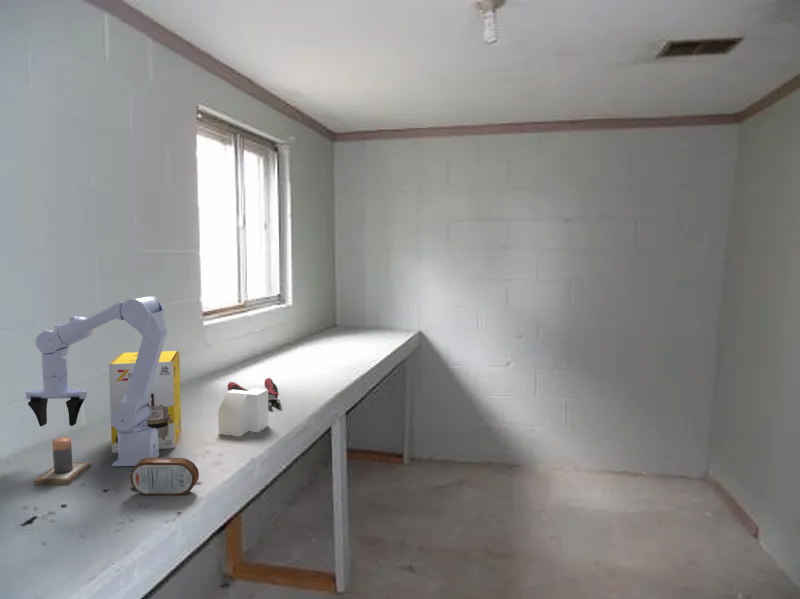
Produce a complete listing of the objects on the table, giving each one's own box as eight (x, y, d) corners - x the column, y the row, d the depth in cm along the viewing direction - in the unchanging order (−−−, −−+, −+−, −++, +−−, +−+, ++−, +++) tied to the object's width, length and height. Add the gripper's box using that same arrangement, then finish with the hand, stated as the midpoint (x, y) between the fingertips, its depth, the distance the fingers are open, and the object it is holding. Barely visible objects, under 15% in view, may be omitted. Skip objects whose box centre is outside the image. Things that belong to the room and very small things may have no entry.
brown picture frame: (91, 465, 144) (91, 461, 144) (69, 484, 133) (68, 479, 133) (59, 466, 143) (59, 462, 143) (34, 484, 132) (34, 480, 132)
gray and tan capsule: (75, 469, 138) (74, 439, 137) (58, 475, 135) (56, 444, 134) (68, 466, 140) (66, 435, 140) (51, 471, 137) (49, 440, 136)
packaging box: (112, 453, 153) (108, 364, 150) (124, 433, 168) (121, 352, 166) (175, 448, 157) (172, 361, 155) (181, 429, 173) (179, 350, 170)
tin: (199, 490, 130) (198, 456, 129) (195, 496, 127) (194, 461, 126) (135, 490, 130) (133, 456, 129) (128, 496, 127) (127, 461, 126)
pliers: (300, 409, 198) (300, 400, 198) (250, 416, 190) (250, 406, 189) (271, 384, 231) (271, 376, 230) (227, 389, 222) (227, 381, 222)
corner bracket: (268, 426, 177) (268, 389, 176) (249, 438, 166) (249, 399, 165) (239, 423, 180) (238, 386, 178) (218, 434, 169) (217, 395, 168)
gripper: (91, 371, 150) (93, 419, 151) (35, 371, 149) (38, 420, 150) (78, 377, 143) (80, 428, 144) (19, 377, 142) (22, 428, 143)
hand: (58, 424), depth 147 cm, fingers open, 7 cm apart
